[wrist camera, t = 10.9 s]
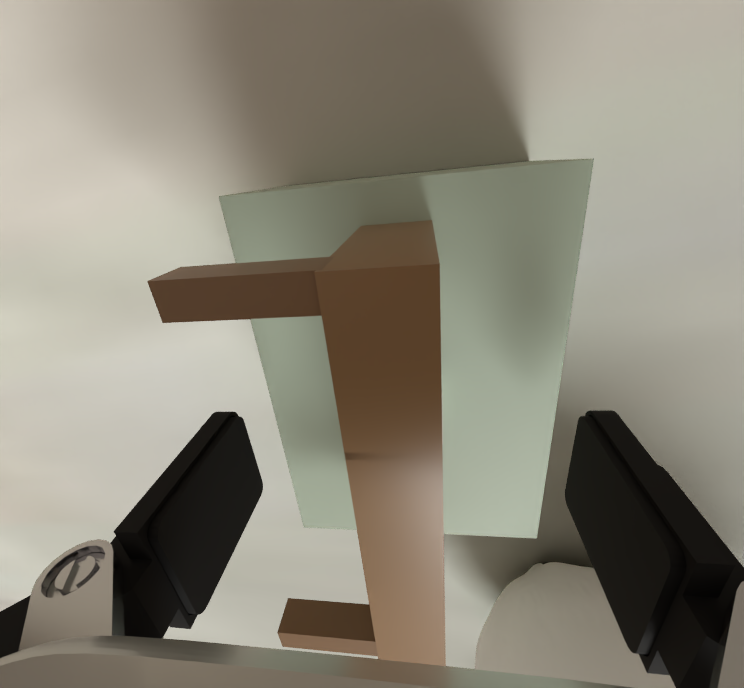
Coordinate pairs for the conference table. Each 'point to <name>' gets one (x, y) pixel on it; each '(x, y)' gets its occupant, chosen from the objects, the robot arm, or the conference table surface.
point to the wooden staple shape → (362, 419)
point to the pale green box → (458, 327)
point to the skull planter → (560, 631)
